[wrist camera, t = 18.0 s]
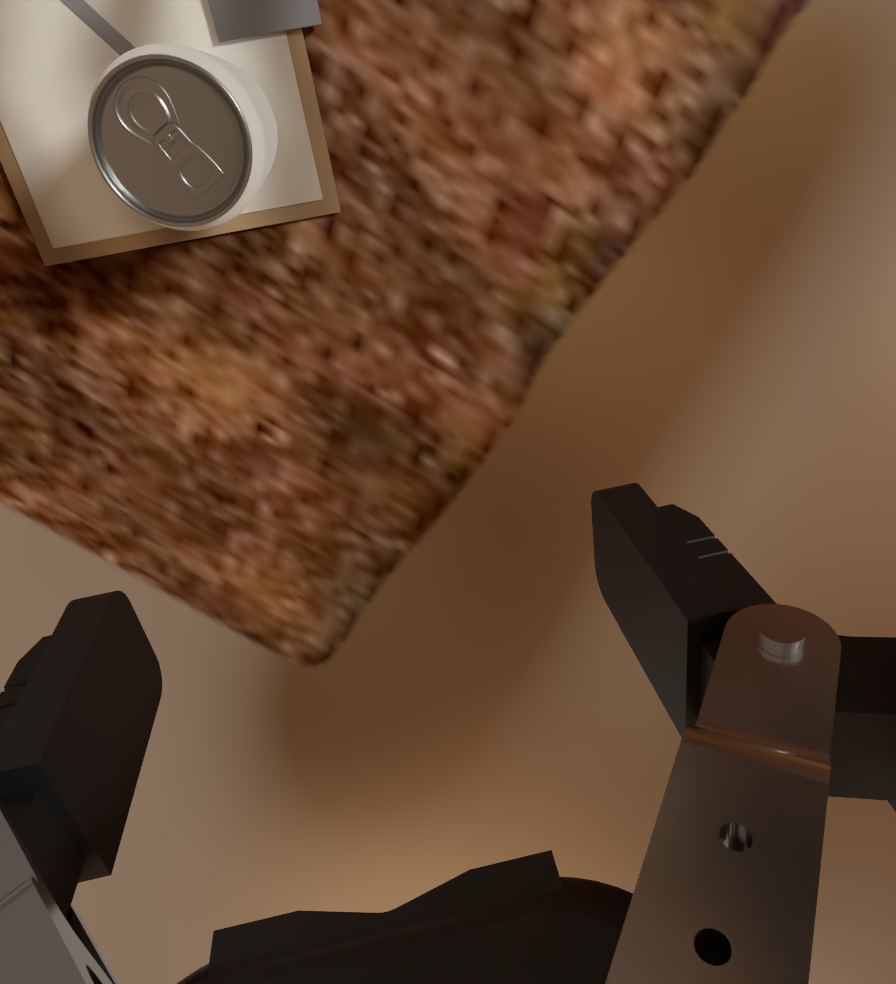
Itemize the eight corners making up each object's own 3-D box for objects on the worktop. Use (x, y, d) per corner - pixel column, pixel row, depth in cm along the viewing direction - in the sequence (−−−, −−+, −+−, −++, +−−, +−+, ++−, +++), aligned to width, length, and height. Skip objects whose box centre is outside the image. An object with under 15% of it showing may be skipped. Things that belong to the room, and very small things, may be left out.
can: (213, 23, 34) (168, -7, 23) (304, 145, 37) (301, 165, 27) (115, 114, 35) (31, 123, 25) (212, 224, 38) (174, 274, 28)
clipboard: (262, -270, 30) (260, -281, 29) (358, 207, 39) (359, 209, 38) (-153, -210, 29) (-167, -219, 28) (47, 264, 38) (41, 268, 37)
